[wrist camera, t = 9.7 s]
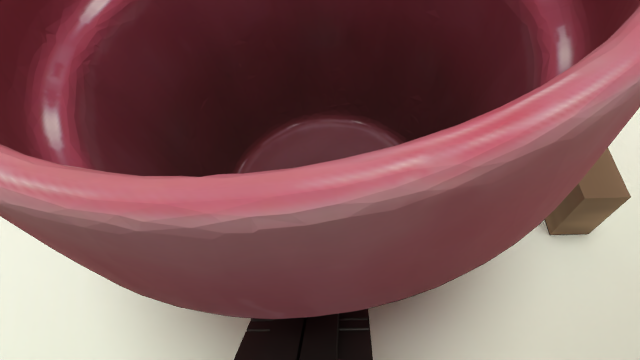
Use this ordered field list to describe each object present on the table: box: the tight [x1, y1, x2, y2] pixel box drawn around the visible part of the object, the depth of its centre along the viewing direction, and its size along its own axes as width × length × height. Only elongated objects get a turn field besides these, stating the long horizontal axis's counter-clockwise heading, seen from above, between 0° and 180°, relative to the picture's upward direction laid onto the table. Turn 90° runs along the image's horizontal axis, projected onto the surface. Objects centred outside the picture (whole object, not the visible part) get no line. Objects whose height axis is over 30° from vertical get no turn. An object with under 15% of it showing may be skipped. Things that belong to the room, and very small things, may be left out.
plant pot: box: [0, 0, 640, 319], centre depth 12 cm, size 14×14×13 cm
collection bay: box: [545, 148, 631, 235], centre depth 19 cm, size 21×14×3 cm, turn 89°
